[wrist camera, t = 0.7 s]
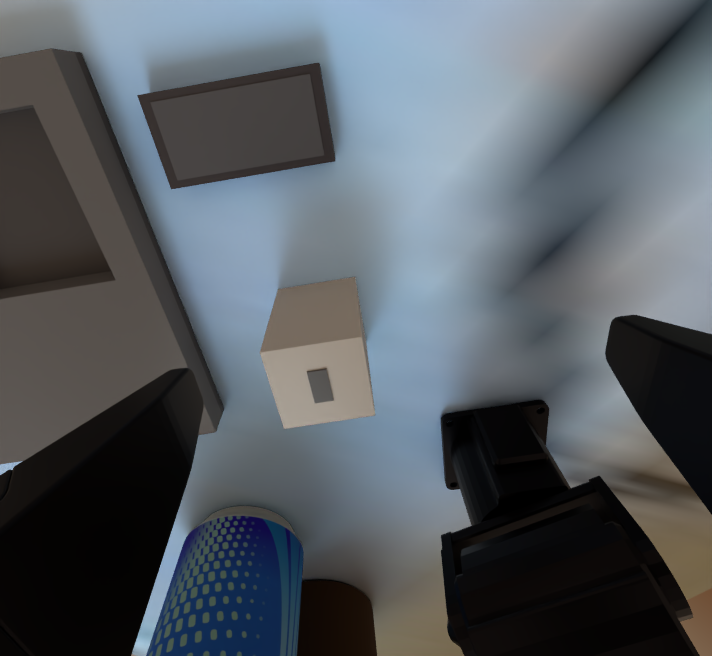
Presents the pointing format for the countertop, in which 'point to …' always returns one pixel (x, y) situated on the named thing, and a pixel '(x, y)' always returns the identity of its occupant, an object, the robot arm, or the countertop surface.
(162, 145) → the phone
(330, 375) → the block
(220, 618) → the beer can
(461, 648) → the robot arm
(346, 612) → the olive oil
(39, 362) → the outlet plate
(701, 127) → the countertop surface
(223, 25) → the countertop surface
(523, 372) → the countertop surface
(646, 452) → the countertop surface
